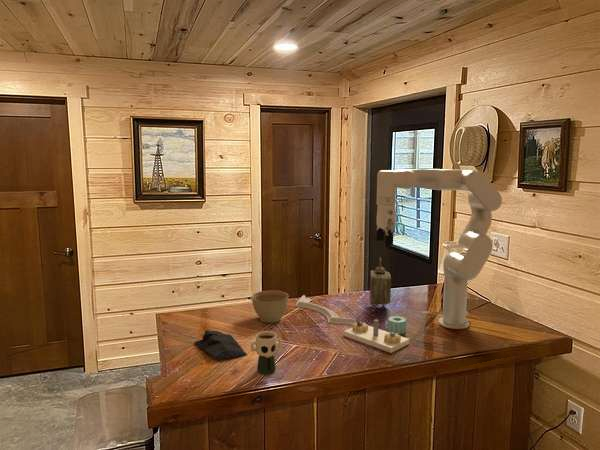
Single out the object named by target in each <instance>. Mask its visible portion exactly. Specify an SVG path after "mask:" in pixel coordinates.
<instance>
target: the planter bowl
mask: <svg viewBox="0 0 600 450" xmlns="http://www.w3.org/2000/svg"><path fill="white" fill-rule="evenodd" d="M251 300H252V307H253V309H254V311H255V313H256V315H257V316H258V318H259V320H260V322H262V323H269V324H271V323H277V322H280V321H281V320H282V317H283V315H284V314H285V313H286V310H287V307H288V303H289V302H288V301H289V294H288V293H287V292H284V291H281V290H262V291H257V292H256V293H255V292H254V294H252V295H251Z"/></svg>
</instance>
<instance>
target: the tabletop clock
mask: <svg viewBox="0 0 600 450" xmlns="http://www.w3.org/2000/svg"><path fill="white" fill-rule="evenodd" d="M369 281H370V283H369V284H370V285H369V302H370V303H369V304H370V305H373V306H374V308H373V309H372V310H371V311H372V313H376V312H377V311H376V309H377V307H378V305H382V307H381V308H382V310H386V308H387V307H386V306H387V305H388V304H390V303H391V292H392V290H391V289H392V277H391V273H390V272H389V271H386V268H385V267H383V266H382V258H381V257H380V256H379V263H378V266H377V267H375V269H374V270H370V280H369ZM385 305H386V306H385Z"/></svg>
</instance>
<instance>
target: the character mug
mask: <svg viewBox="0 0 600 450" xmlns="http://www.w3.org/2000/svg"><path fill="white" fill-rule="evenodd" d="M254 346H255V348H254ZM280 347H282V338H281V337H277V333H276V332H275V331H266V330H265V331H260V332H257V333H256V334H255V341H252V342H251V343H250V351H251V352H253V353H254V352H255V353H256V355H258V360H257V372H258V373H259V374H263V375H269V372H270V374H272V373H275V371H276V360H275V355H276V353H277V351H278V348H280Z"/></svg>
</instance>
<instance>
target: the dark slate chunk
mask: <svg viewBox="0 0 600 450" xmlns="http://www.w3.org/2000/svg"><path fill="white" fill-rule="evenodd" d="M194 344H195V345H197V346H198V348H199V349H200V350H202V352H203V351H204V353H206V354H207V355H209V356H210V357H211V358H213V359H215V360H216V361H217V360H222V359H223V360H224V359H232V358H233V359H234V358H243V357H244V356H247V355H248V354H247V353H246V351H244V349H243V348H242V346H241V345H240V344H239V343H238V341H237V340H236V339H235V338H234V337H233V336H232V335H231V334H227V333H223V332H221V331H218V330H210V329H206V330H204V334H203V336H202V339H200V340H196V341H194Z"/></svg>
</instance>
